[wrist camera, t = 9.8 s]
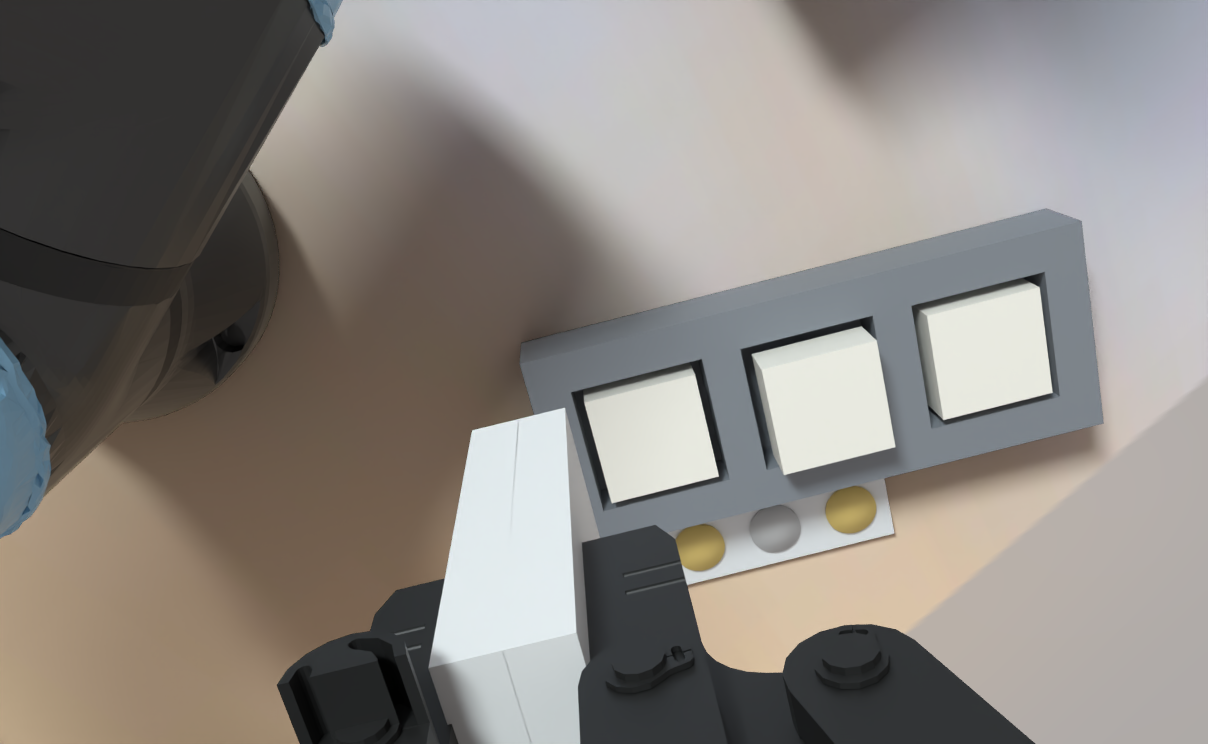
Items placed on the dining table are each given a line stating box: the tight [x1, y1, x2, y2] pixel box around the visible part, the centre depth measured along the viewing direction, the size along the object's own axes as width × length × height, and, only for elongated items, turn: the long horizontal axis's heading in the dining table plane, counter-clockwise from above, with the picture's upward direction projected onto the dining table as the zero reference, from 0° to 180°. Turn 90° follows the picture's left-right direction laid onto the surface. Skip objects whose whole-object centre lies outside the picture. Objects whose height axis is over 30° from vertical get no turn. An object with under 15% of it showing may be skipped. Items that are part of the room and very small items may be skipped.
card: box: [668, 478, 894, 585], centre depth 55 cm, size 12×4×1 cm, turn 104°
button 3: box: [911, 278, 1053, 420], centre depth 50 cm, size 5×5×2 cm
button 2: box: [752, 326, 895, 475], centre depth 49 cm, size 5×5×2 cm
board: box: [520, 209, 1103, 538], centre depth 51 cm, size 26×10×4 cm, turn 104°
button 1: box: [583, 362, 719, 503], centre depth 51 cm, size 5×5×2 cm
